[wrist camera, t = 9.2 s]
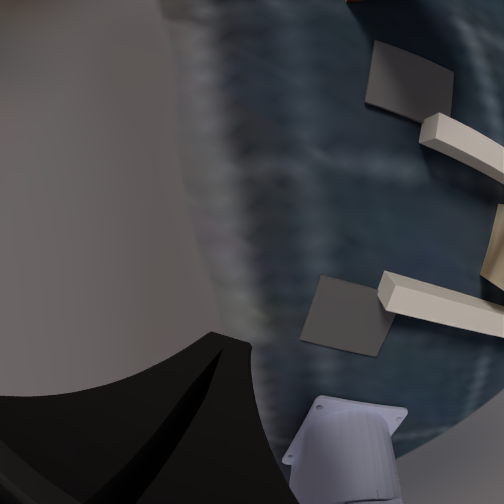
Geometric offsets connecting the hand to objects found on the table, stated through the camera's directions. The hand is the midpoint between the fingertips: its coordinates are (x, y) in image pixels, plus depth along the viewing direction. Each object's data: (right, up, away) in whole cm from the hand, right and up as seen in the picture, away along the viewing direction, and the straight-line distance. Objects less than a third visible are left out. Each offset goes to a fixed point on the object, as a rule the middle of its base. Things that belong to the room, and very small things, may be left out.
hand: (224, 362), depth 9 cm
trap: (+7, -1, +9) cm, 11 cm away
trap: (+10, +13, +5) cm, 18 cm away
